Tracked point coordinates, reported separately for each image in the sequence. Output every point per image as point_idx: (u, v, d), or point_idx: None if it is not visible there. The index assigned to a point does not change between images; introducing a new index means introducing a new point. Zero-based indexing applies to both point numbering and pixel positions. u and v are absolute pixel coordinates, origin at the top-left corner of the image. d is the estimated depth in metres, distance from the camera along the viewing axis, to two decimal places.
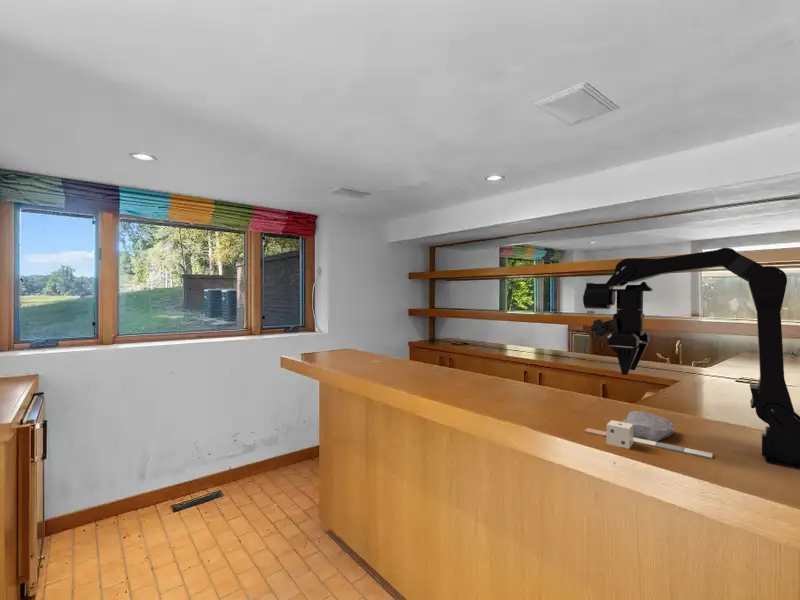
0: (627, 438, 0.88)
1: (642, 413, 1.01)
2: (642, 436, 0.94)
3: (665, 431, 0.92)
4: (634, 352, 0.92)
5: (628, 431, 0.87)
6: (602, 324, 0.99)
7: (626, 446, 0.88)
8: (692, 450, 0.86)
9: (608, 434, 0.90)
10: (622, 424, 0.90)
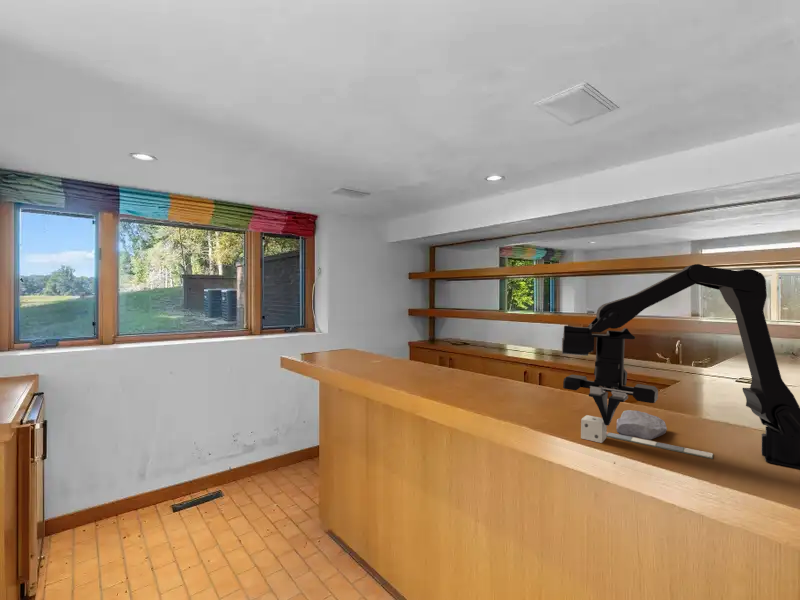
0: (600, 432, 0.91)
1: (635, 412, 1.02)
2: (636, 435, 0.95)
3: (658, 430, 0.93)
4: None
5: (601, 425, 0.91)
6: (595, 368, 0.98)
7: (599, 440, 0.91)
8: (692, 450, 0.86)
9: (582, 428, 0.93)
10: (596, 419, 0.94)
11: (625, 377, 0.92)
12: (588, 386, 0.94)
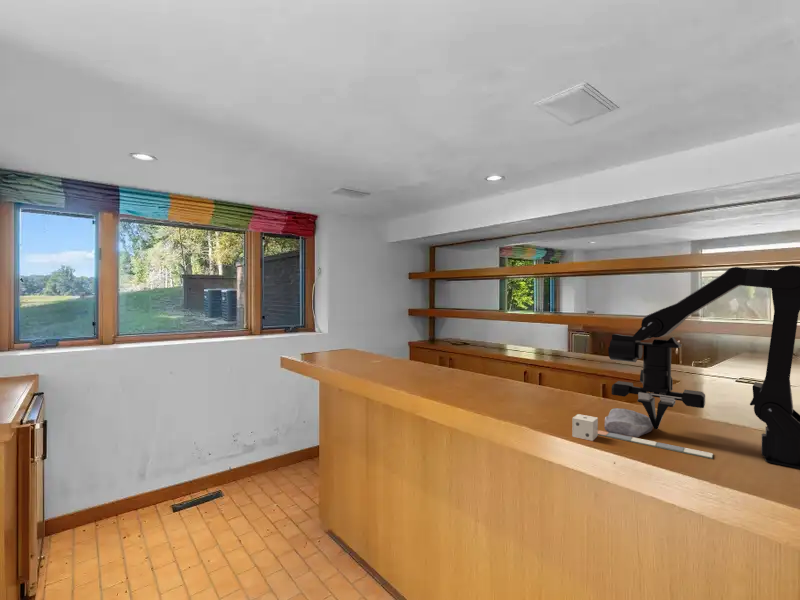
0: (591, 431, 0.92)
1: (623, 410, 1.04)
2: (623, 432, 0.97)
3: (645, 427, 0.95)
4: None
5: (592, 424, 0.92)
6: (640, 375, 1.04)
7: (590, 438, 0.92)
8: (692, 450, 0.86)
9: (574, 427, 0.95)
10: (587, 417, 0.95)
11: (672, 383, 0.97)
12: (636, 392, 0.99)
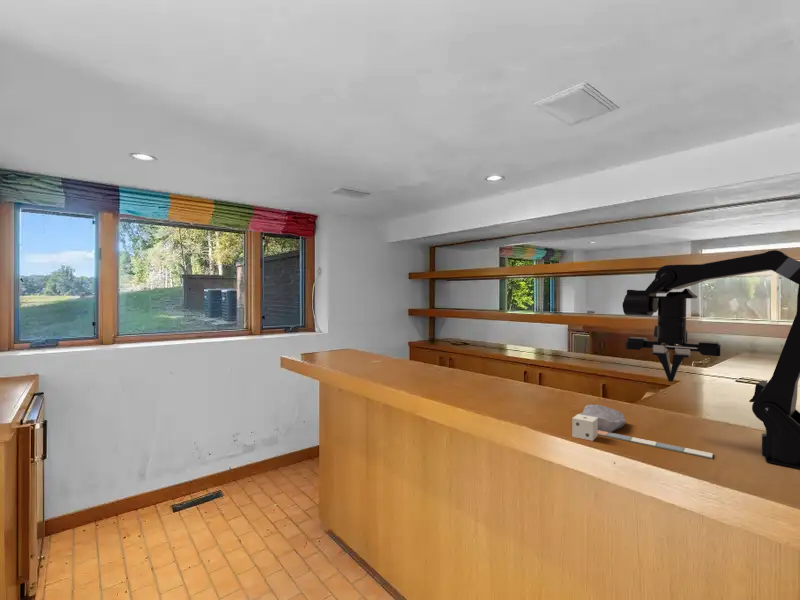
0: (591, 431, 0.92)
1: (597, 406, 1.08)
2: None
3: (618, 422, 0.98)
4: None
5: (592, 424, 0.92)
6: (654, 330, 1.03)
7: (590, 438, 0.92)
8: (692, 450, 0.86)
9: (574, 427, 0.95)
10: (587, 417, 0.95)
11: None
12: (650, 346, 0.99)
